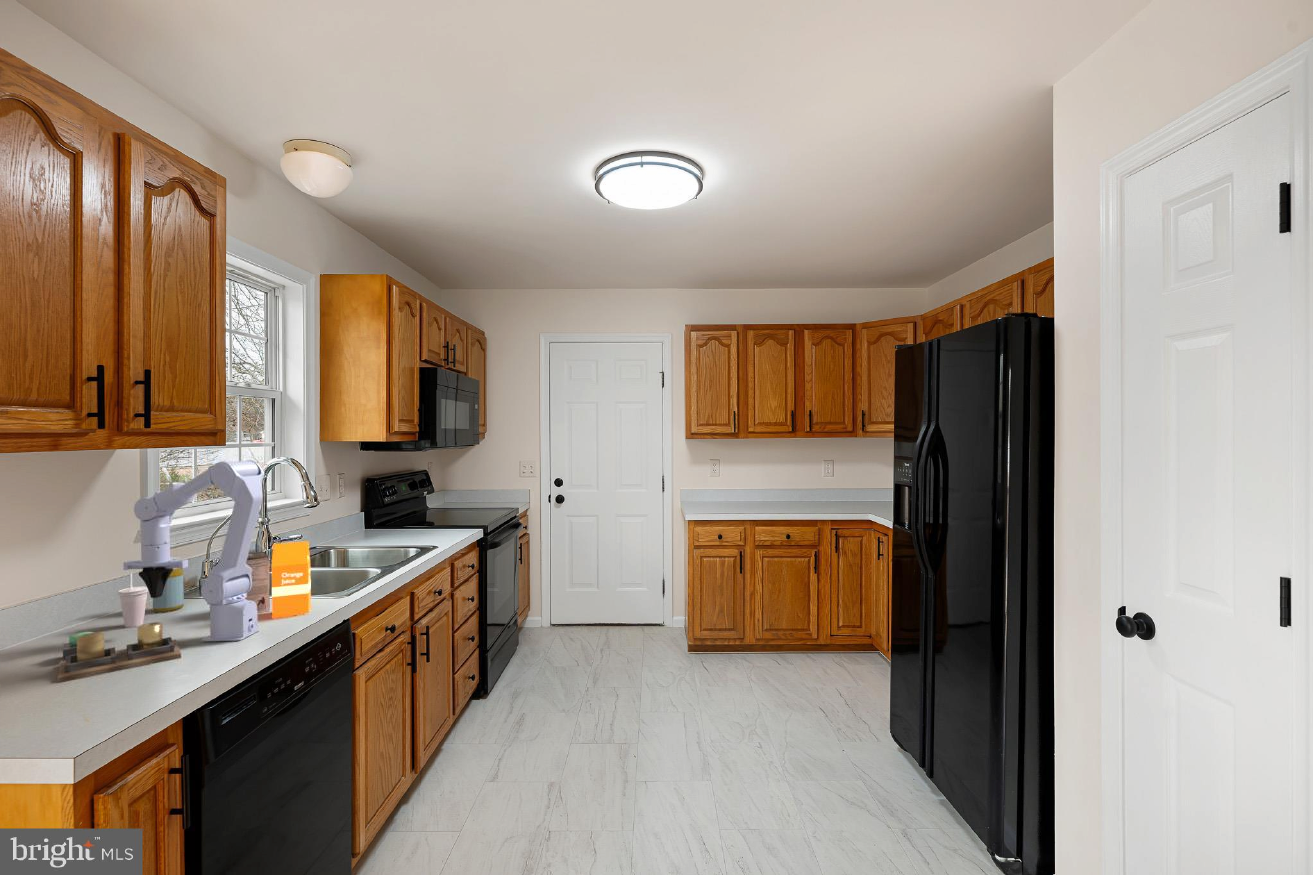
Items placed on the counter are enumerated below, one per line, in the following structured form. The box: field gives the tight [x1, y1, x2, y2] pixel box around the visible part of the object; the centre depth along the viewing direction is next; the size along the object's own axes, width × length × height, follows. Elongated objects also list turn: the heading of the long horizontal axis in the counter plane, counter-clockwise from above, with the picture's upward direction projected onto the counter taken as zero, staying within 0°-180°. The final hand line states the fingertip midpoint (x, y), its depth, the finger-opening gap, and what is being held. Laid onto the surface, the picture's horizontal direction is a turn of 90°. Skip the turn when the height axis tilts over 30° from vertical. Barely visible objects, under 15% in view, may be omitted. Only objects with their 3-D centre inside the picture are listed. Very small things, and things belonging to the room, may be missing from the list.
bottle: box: [152, 555, 185, 613], centre depth 179 cm, size 7×7×15 cm
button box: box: [62, 642, 77, 661], centre depth 141 cm, size 6×6×3 cm
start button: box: [68, 631, 94, 645], centre depth 141 cm, size 4×4×2 cm
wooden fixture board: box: [57, 631, 182, 683], centre depth 137 cm, size 20×13×7 cm, turn 133°
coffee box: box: [245, 551, 271, 614], centre depth 177 cm, size 9×6×16 cm
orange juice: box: [271, 540, 312, 619], centre depth 174 cm, size 8×9×20 cm
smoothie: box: [117, 572, 149, 628], centre depth 164 cm, size 6×6×14 cm
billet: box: [136, 621, 164, 651], centre depth 141 cm, size 4×4×6 cm
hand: (156, 596), depth 157 cm, fingers closed
